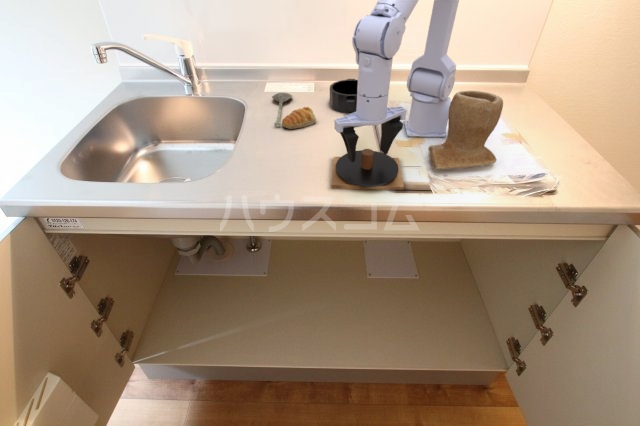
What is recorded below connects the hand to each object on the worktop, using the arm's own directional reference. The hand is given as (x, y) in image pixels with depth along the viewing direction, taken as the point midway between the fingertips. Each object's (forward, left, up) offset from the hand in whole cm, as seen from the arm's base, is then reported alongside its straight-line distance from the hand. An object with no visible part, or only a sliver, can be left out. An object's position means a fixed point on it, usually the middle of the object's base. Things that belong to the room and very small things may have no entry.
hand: (367, 155), depth 67 cm
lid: (0, 0, -3) cm, 3 cm away
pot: (+4, -37, -5) cm, 37 cm away
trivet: (0, 0, -5) cm, 5 cm away
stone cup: (-21, -7, -5) cm, 23 cm away
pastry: (+18, -24, -5) cm, 30 cm away
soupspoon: (+25, -32, -5) cm, 41 cm away
